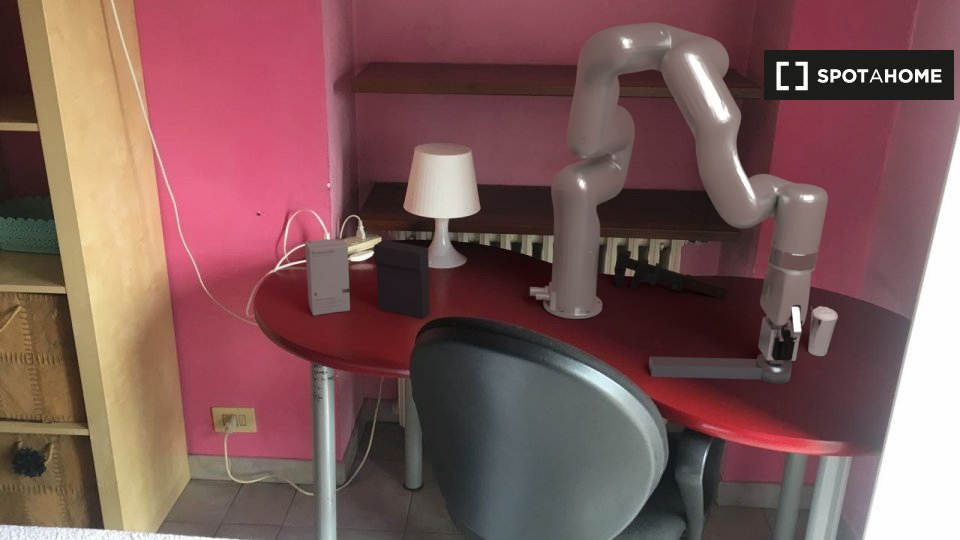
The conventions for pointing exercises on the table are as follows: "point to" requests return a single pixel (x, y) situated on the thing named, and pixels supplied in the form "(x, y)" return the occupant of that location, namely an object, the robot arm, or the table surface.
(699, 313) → the table surface
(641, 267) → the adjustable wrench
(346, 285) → the skincare box
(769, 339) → the pale grey cube
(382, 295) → the black lidded box
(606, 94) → the robot arm
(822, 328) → the milkshake
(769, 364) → the ratchet
